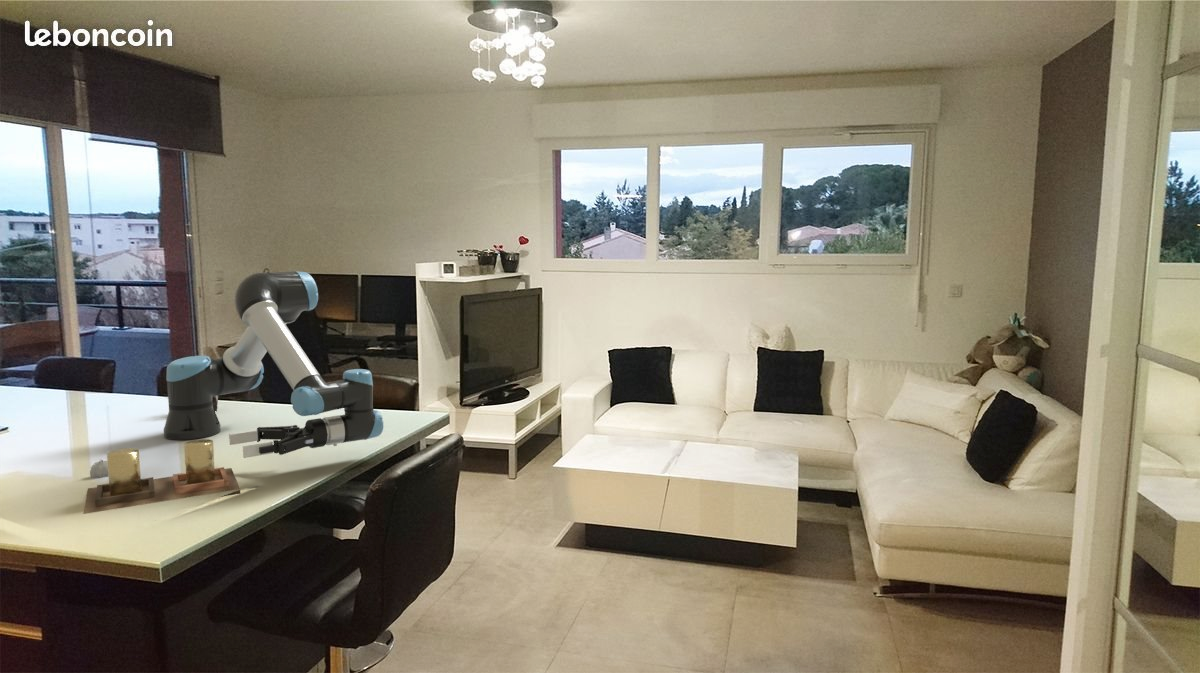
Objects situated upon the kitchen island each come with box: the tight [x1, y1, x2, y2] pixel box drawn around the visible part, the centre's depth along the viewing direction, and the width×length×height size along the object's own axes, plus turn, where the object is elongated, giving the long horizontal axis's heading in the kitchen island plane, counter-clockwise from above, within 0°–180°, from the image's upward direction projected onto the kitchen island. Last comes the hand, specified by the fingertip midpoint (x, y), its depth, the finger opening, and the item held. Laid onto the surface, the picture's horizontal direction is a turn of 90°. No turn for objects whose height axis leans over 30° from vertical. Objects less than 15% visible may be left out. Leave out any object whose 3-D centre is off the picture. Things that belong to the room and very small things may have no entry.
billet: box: [106, 447, 142, 496], centre depth 161 cm, size 6×6×10 cm
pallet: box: [83, 466, 241, 515], centre depth 166 cm, size 30×18×3 cm, turn 123°
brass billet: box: [183, 438, 215, 485], centre depth 169 cm, size 6×6×10 cm
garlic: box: [89, 459, 109, 478], centre depth 175 cm, size 6×5×5 cm
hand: (236, 445), depth 174 cm, fingers open, 13 cm apart
